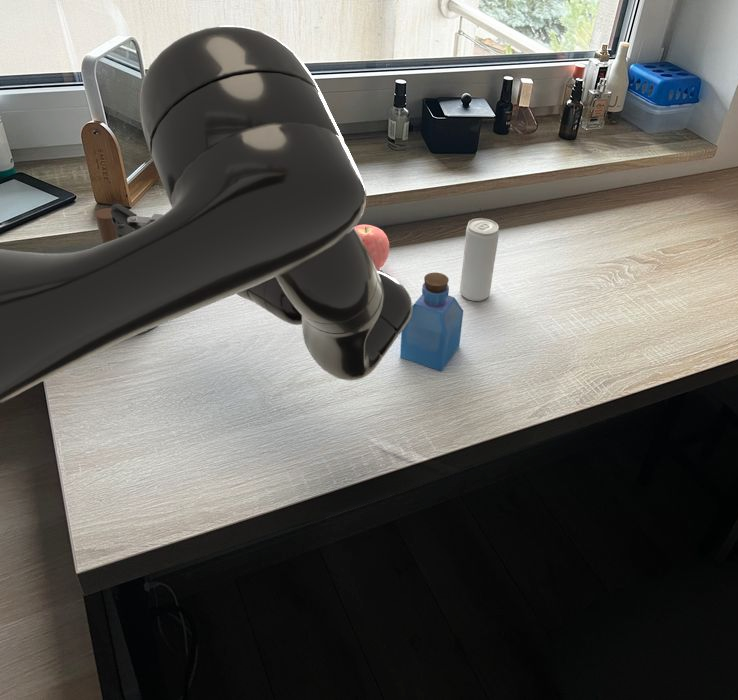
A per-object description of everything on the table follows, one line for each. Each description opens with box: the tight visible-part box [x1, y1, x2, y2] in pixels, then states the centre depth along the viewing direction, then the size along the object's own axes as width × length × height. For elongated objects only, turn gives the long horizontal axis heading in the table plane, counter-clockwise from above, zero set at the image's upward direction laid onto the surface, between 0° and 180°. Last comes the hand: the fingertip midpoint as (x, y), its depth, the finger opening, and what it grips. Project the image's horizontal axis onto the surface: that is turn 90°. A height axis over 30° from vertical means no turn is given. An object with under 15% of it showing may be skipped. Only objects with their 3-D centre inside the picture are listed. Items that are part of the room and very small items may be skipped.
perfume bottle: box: [399, 272, 464, 372], centre depth 97 cm, size 6×6×12 cm
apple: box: [355, 224, 390, 271], centre depth 112 cm, size 7×7×8 cm
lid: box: [94, 207, 117, 244], centre depth 93 cm, size 10×10×9 cm
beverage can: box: [459, 217, 500, 302], centre depth 109 cm, size 5×5×12 cm
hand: (150, 200), depth 81 cm, fingers open, 8 cm apart
